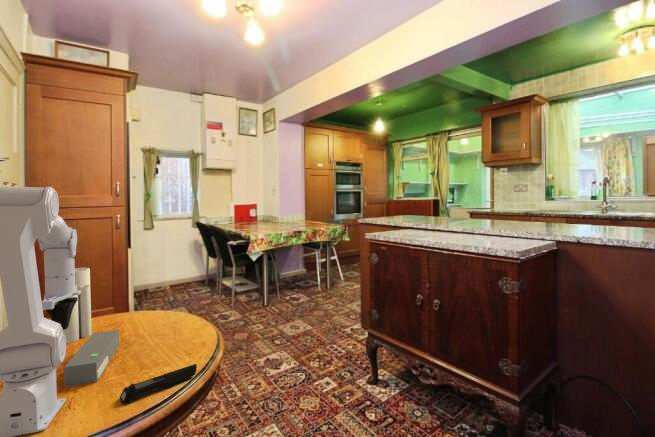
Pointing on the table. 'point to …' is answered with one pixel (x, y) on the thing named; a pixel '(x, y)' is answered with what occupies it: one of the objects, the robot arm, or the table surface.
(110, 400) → the table surface
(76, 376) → the charging dock
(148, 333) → the table surface
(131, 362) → the table surface
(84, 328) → the vase
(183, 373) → the electric trimmer
